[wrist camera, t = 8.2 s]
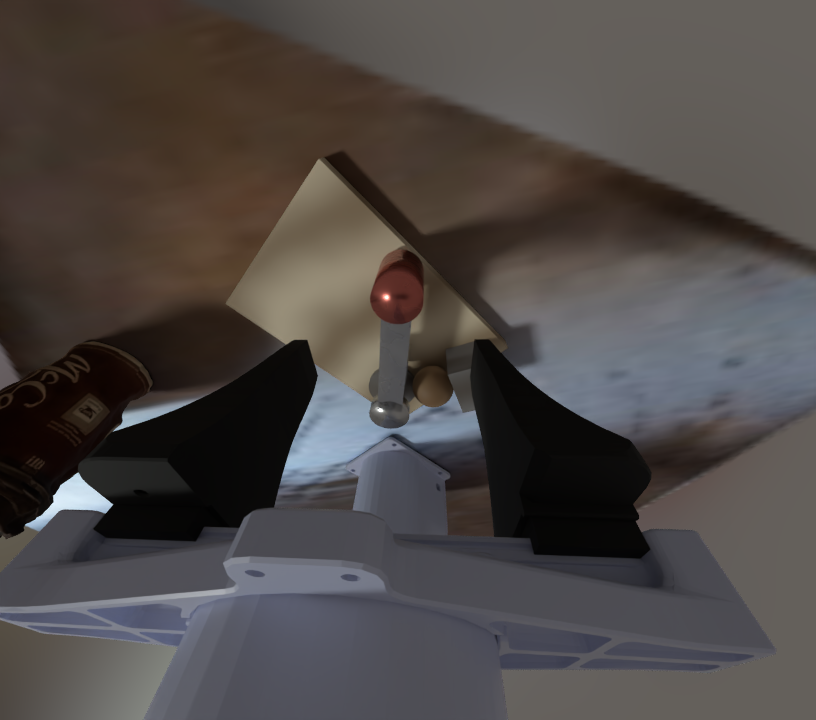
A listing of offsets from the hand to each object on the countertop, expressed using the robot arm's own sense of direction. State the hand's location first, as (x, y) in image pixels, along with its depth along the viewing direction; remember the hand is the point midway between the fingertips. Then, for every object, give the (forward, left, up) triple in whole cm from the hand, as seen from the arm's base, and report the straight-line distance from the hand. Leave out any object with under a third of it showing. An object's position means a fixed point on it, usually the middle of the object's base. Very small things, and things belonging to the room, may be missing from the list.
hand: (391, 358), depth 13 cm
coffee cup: (+12, +25, -10) cm, 30 cm away
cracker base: (-1, +4, -9) cm, 10 cm away
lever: (-3, +3, -8) cm, 9 cm away
